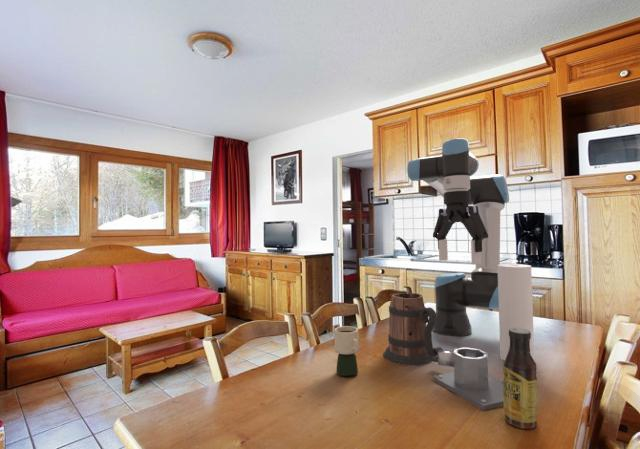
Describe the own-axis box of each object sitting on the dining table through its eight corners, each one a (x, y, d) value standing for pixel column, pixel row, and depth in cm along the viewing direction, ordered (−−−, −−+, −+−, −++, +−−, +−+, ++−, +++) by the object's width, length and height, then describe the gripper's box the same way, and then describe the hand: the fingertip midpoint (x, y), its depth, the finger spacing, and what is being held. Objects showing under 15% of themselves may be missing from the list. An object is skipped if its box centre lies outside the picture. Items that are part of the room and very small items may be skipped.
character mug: (368, 377, 99) (367, 331, 99) (347, 383, 95) (346, 335, 95) (346, 365, 108) (345, 323, 108) (327, 370, 105) (326, 326, 105)
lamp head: (487, 380, 93) (486, 349, 93) (488, 393, 86) (487, 360, 86) (440, 373, 98) (439, 344, 98) (437, 385, 91) (436, 354, 91)
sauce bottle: (497, 416, 77) (494, 326, 78) (524, 414, 78) (521, 324, 78) (516, 433, 71) (513, 334, 71) (545, 430, 71) (542, 333, 72)
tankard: (372, 352, 119) (371, 293, 120) (411, 344, 127) (410, 289, 127) (419, 377, 98) (417, 306, 98) (463, 366, 105) (461, 300, 106)
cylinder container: (539, 365, 105) (536, 265, 105) (505, 363, 107) (502, 265, 107) (527, 354, 114) (524, 262, 115) (496, 353, 116) (493, 262, 116)
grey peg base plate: (432, 379, 97) (432, 357, 97) (472, 371, 101) (471, 350, 102) (484, 410, 80) (483, 383, 80) (528, 398, 85) (527, 373, 85)
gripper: (420, 195, 115) (422, 259, 115) (479, 185, 92) (481, 266, 91) (439, 195, 118) (441, 258, 117) (500, 186, 94) (503, 264, 94)
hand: (458, 262), depth 104 cm, fingers open, 13 cm apart
